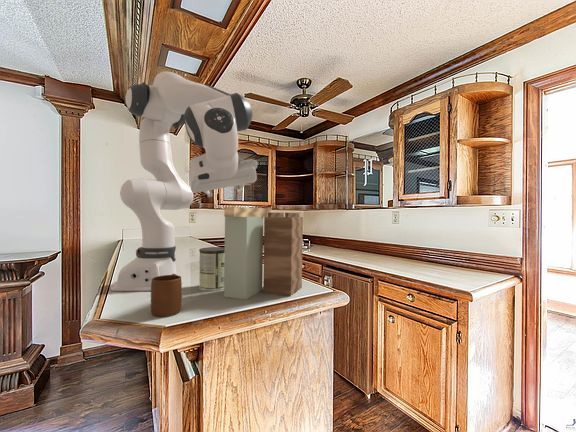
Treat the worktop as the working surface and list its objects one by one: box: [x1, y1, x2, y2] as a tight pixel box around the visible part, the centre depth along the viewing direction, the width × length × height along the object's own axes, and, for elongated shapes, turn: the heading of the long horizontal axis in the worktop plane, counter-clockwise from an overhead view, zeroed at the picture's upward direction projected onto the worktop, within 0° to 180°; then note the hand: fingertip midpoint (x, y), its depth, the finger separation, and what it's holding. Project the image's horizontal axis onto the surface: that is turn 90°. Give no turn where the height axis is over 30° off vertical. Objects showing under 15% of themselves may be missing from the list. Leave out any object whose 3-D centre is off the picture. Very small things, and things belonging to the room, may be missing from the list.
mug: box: [150, 274, 183, 318], centre depth 78 cm, size 12×8×9 cm, turn 6°
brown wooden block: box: [262, 212, 304, 297], centre depth 100 cm, size 12×10×28 cm
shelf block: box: [223, 217, 264, 300], centre depth 95 cm, size 12×8×26 cm, turn 160°
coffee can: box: [198, 246, 225, 292], centre depth 102 cm, size 10×10×14 cm
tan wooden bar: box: [223, 206, 272, 218], centre depth 95 cm, size 20×4×3 cm, turn 149°
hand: (224, 192), depth 91 cm, fingers open, 8 cm apart
